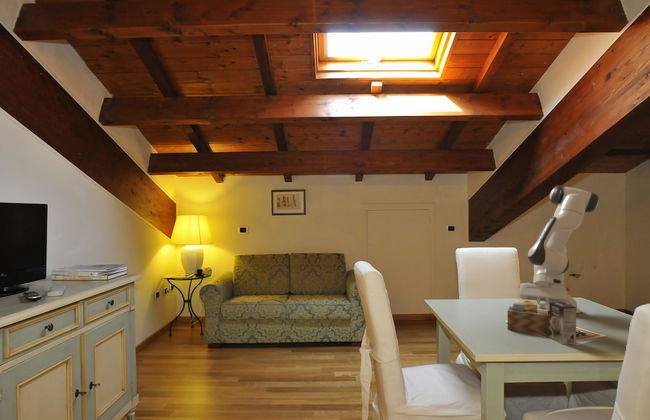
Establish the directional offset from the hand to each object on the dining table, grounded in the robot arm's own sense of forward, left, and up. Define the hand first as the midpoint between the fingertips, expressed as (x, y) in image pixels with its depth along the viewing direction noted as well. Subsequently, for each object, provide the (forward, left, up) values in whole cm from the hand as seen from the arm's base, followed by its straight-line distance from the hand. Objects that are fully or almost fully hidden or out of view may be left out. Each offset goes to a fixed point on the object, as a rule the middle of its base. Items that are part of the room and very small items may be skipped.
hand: (542, 307), depth 185 cm
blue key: (+7, -7, -3) cm, 10 cm away
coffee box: (+2, +13, -11) cm, 17 cm away
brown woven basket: (+3, -4, -11) cm, 12 cm away
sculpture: (-7, -20, -11) cm, 24 cm away
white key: (0, 0, -4) cm, 4 cm away
